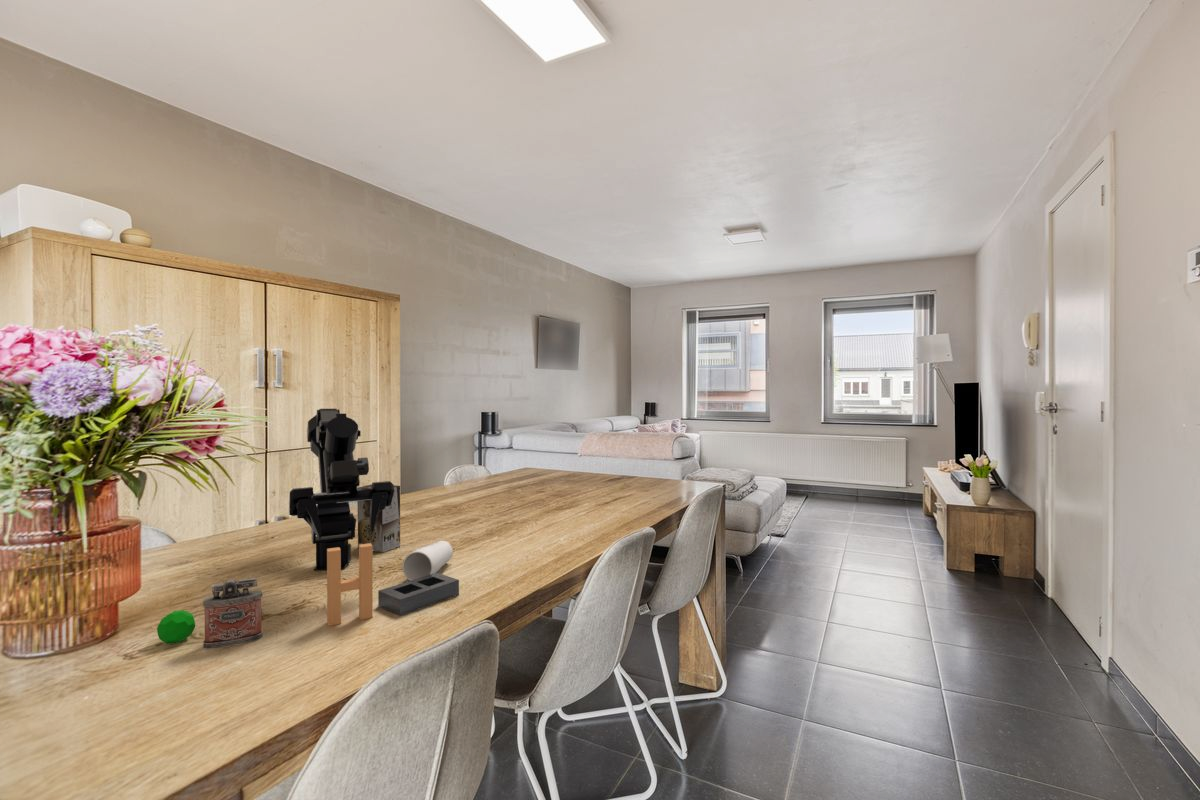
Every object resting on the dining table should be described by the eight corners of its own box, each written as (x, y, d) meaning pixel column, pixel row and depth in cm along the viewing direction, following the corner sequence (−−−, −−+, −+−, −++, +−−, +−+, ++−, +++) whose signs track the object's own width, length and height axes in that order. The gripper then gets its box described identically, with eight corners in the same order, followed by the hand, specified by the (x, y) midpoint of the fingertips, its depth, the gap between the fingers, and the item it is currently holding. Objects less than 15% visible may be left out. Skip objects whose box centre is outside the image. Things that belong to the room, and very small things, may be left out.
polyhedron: (179, 648, 87) (179, 618, 87) (148, 648, 87) (148, 618, 87) (203, 634, 92) (202, 606, 92) (174, 634, 92) (173, 606, 92)
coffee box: (401, 546, 144) (401, 485, 144) (382, 553, 138) (382, 489, 138) (376, 542, 148) (376, 482, 148) (356, 548, 142) (356, 486, 142)
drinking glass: (457, 564, 130) (433, 582, 116) (430, 566, 131) (402, 584, 116) (455, 536, 131) (431, 549, 116) (428, 537, 131) (400, 552, 116)
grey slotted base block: (400, 615, 100) (400, 599, 100) (378, 606, 104) (378, 590, 104) (458, 594, 110) (458, 579, 110) (436, 586, 115) (436, 572, 115)
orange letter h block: (328, 626, 95) (328, 551, 95) (327, 621, 97) (327, 548, 97) (372, 617, 99) (372, 545, 99) (370, 613, 101) (370, 543, 101)
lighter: (201, 651, 86) (201, 587, 86) (205, 642, 89) (204, 581, 89) (261, 640, 90) (261, 579, 90) (263, 632, 93) (263, 573, 93)
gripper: (289, 446, 104) (292, 516, 95) (392, 442, 114) (404, 505, 105) (287, 481, 111) (290, 549, 102) (385, 474, 121) (395, 536, 112)
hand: (346, 534), depth 105 cm, fingers open, 9 cm apart
